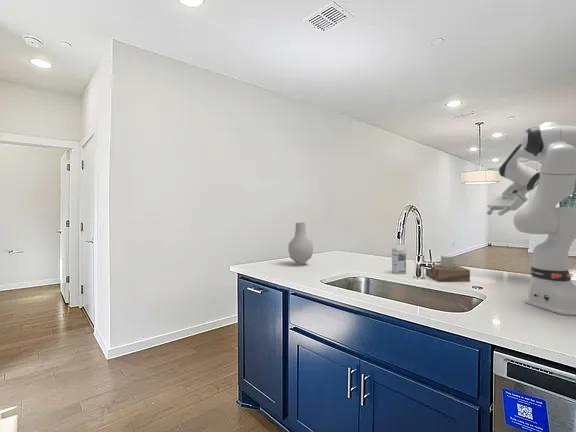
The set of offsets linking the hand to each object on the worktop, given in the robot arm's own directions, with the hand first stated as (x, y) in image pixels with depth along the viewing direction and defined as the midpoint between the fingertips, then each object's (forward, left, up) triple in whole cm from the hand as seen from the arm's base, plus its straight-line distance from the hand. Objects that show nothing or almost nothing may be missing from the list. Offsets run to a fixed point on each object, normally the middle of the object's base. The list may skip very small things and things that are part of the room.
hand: (493, 214), depth 175 cm
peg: (+3, +23, -34) cm, 42 cm away
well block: (+3, +23, -34) cm, 42 cm away
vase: (+47, +100, -35) cm, 116 cm away
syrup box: (+18, +44, -35) cm, 59 cm away
